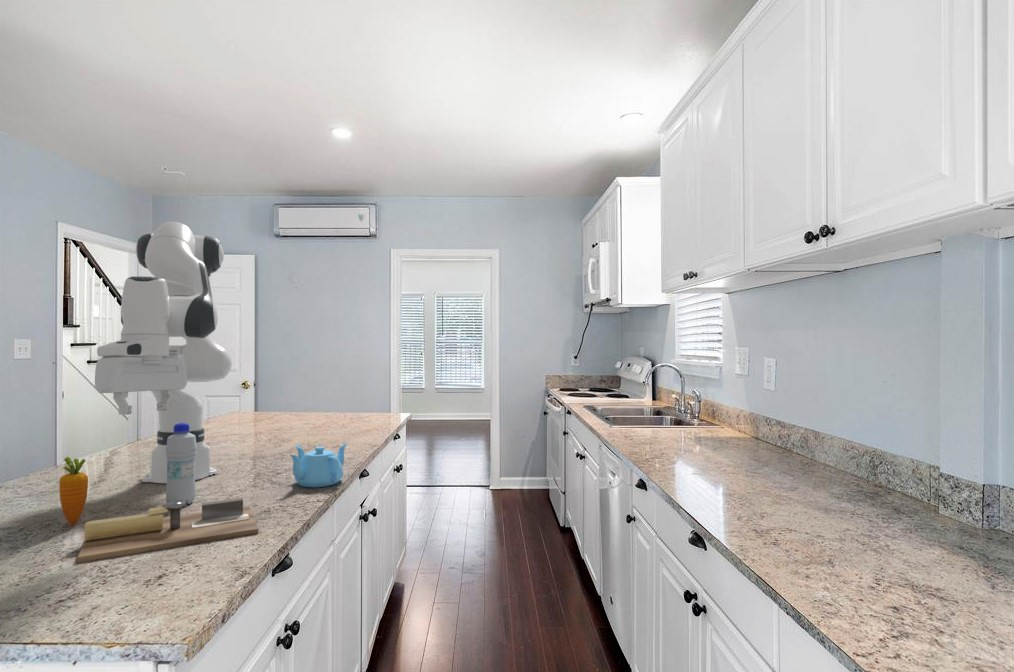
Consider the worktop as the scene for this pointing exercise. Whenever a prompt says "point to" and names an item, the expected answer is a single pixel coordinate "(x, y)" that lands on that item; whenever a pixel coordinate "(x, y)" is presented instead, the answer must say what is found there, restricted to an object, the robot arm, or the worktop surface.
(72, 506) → the carrot
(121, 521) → the swing bar
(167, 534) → the latch board
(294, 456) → the teapot
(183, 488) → the bottle
